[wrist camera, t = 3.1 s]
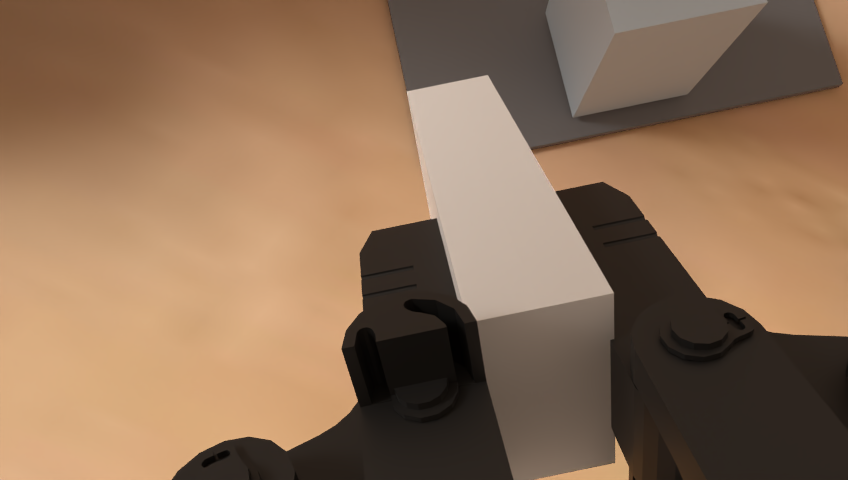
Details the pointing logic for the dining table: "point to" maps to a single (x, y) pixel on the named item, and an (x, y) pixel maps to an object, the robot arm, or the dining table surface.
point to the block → (640, 47)
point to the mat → (542, 81)
